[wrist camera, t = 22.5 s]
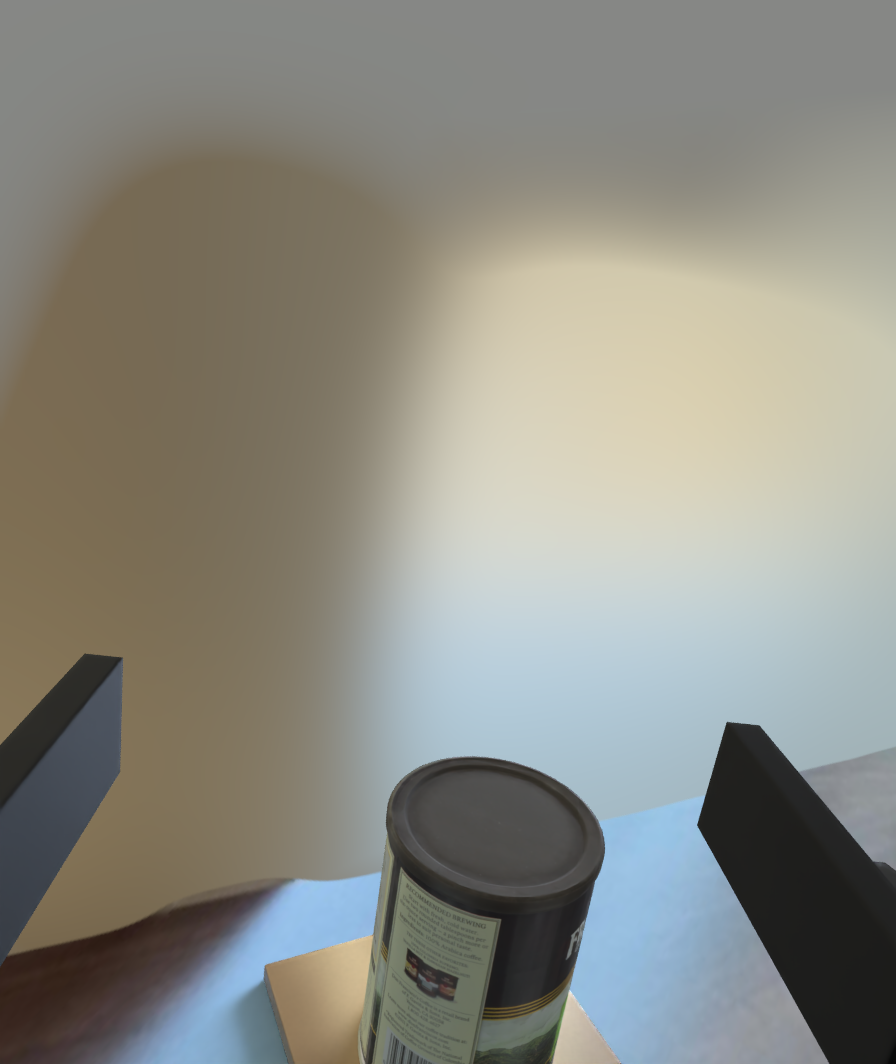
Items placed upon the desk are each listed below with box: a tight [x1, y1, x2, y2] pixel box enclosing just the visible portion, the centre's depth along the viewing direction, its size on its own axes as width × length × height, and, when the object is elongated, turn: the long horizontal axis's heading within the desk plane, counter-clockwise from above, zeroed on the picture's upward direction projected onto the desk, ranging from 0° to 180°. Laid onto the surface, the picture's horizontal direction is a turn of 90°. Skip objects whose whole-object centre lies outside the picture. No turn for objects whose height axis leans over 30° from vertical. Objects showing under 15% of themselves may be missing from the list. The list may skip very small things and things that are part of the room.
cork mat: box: [264, 935, 621, 1064], centre depth 39 cm, size 16×16×1 cm
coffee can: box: [358, 756, 605, 1064], centre depth 37 cm, size 10×10×14 cm
